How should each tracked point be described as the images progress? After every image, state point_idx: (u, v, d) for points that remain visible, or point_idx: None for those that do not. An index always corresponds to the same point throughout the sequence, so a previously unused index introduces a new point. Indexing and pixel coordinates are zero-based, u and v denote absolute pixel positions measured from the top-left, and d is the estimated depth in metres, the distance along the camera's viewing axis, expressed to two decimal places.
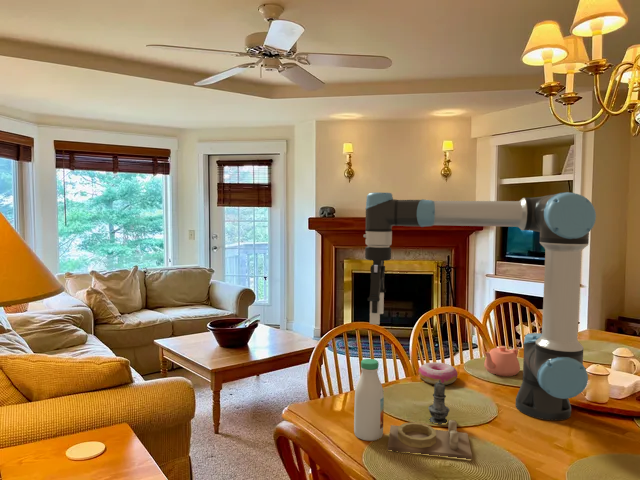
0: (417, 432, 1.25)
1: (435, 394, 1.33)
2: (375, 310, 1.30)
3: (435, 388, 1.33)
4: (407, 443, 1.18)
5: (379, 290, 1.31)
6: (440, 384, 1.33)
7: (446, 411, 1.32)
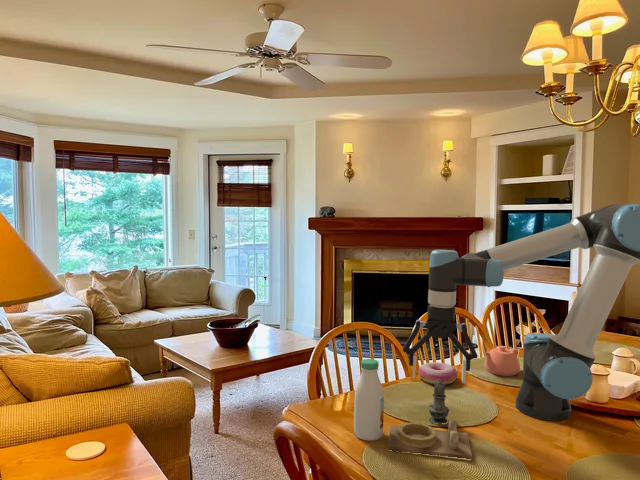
0: (417, 432, 1.25)
1: (435, 394, 1.33)
2: None
3: (435, 388, 1.33)
4: (407, 443, 1.18)
5: (415, 345, 1.33)
6: (440, 384, 1.33)
7: (446, 411, 1.32)
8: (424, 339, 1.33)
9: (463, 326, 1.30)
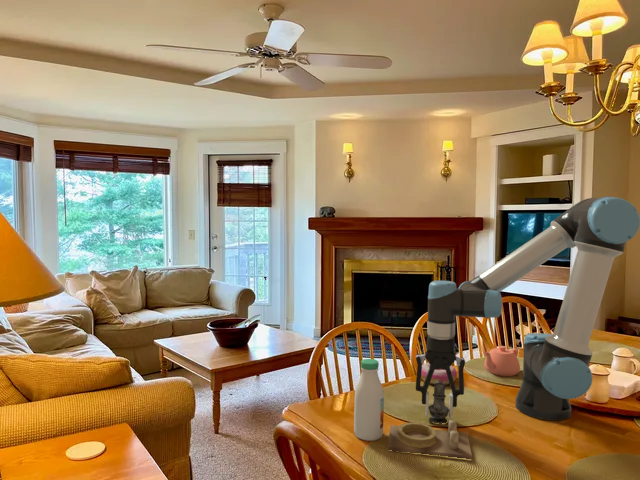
0: (417, 432, 1.25)
1: (435, 394, 1.33)
2: None
3: (435, 388, 1.33)
4: (407, 443, 1.18)
5: (425, 383, 1.34)
6: (440, 384, 1.33)
7: (446, 411, 1.32)
8: (430, 374, 1.33)
9: (462, 361, 1.31)
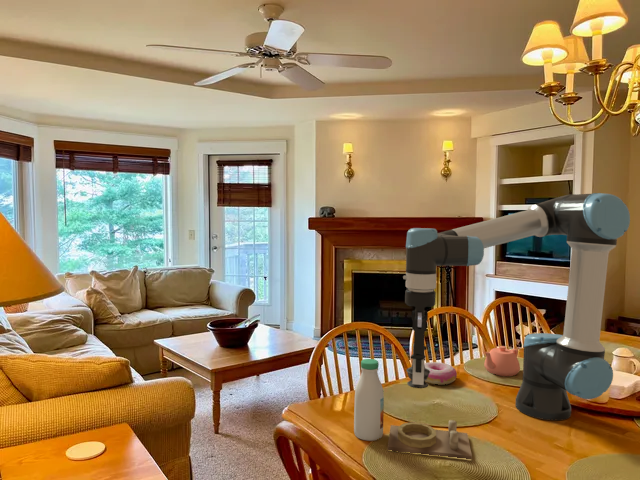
0: (417, 432, 1.25)
1: None
2: (419, 369, 1.16)
3: None
4: (407, 443, 1.18)
5: None
6: None
7: None
8: None
9: (424, 310, 1.25)
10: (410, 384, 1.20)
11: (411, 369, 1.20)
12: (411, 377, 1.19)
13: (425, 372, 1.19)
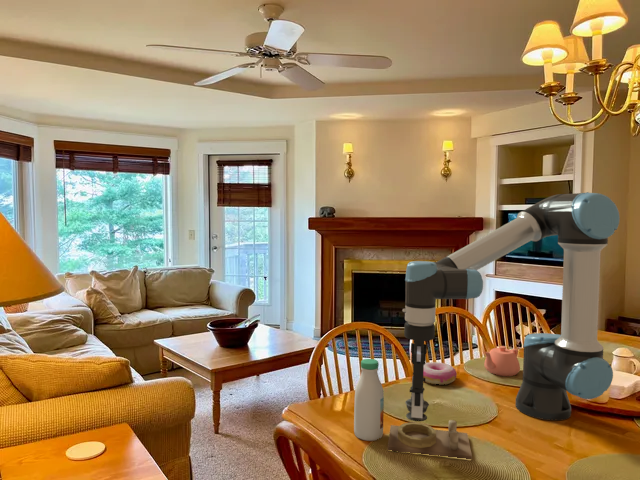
0: (417, 432, 1.25)
1: None
2: (418, 403, 1.16)
3: None
4: (407, 443, 1.18)
5: None
6: None
7: (423, 400, 1.23)
8: None
9: None
10: (409, 416, 1.20)
11: (410, 402, 1.20)
12: (410, 410, 1.20)
13: (424, 405, 1.19)
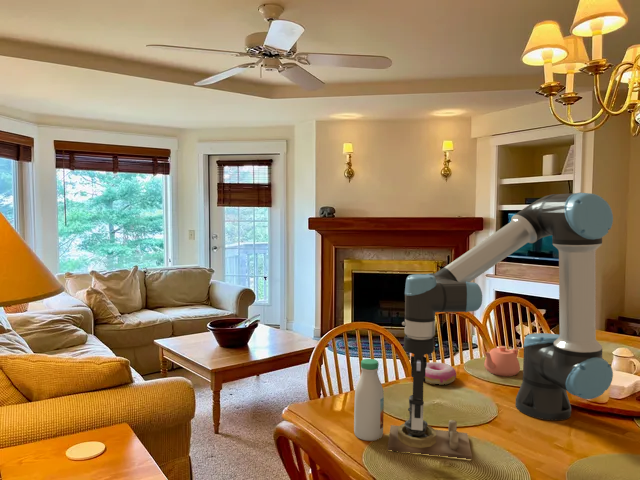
0: None
1: None
2: (418, 415, 1.13)
3: None
4: (407, 443, 1.18)
5: None
6: None
7: None
8: None
9: None
10: None
11: (409, 423, 1.21)
12: (409, 431, 1.20)
13: (423, 425, 1.20)
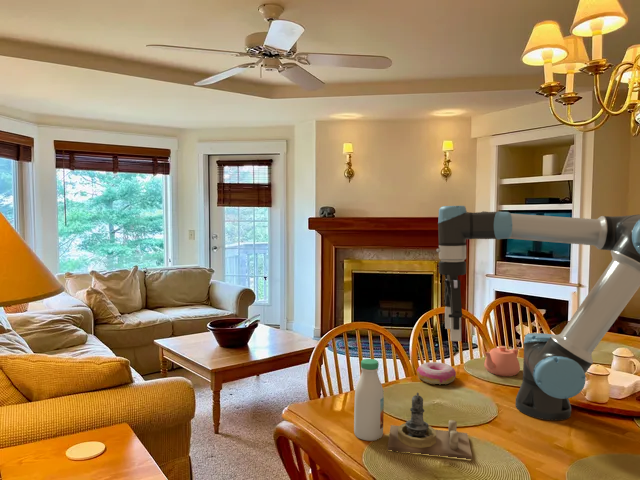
0: None
1: (420, 409, 1.20)
2: (457, 327, 1.27)
3: (420, 403, 1.20)
4: (407, 443, 1.18)
5: None
6: (420, 396, 1.21)
7: None
8: None
9: None
10: None
11: (410, 423, 1.21)
12: (410, 431, 1.20)
13: (424, 426, 1.20)
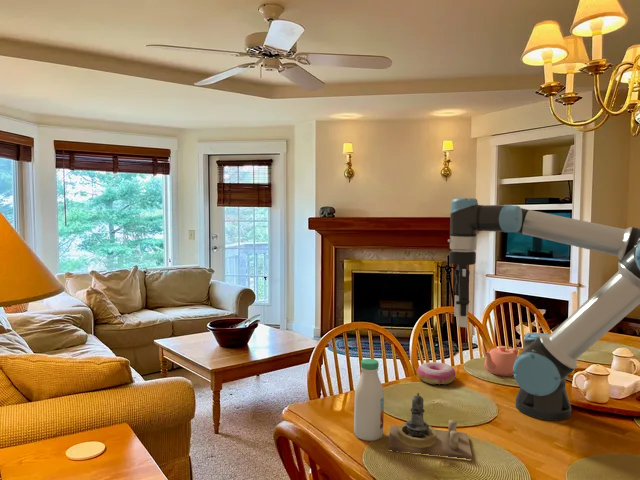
0: None
1: (421, 410, 1.20)
2: (464, 313, 1.33)
3: (421, 403, 1.20)
4: (407, 443, 1.18)
5: None
6: (420, 396, 1.21)
7: None
8: None
9: None
10: None
11: (410, 423, 1.21)
12: (410, 432, 1.20)
13: (424, 427, 1.20)
